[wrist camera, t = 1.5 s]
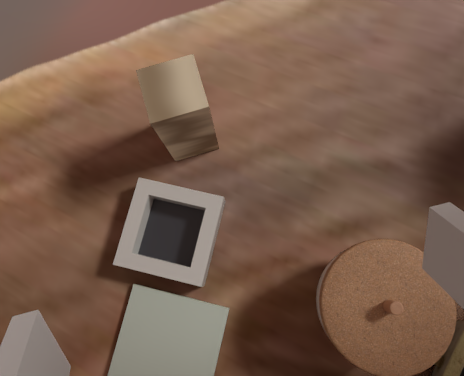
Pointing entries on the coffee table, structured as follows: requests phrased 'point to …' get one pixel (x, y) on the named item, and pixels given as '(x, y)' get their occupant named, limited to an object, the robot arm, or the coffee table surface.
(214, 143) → the maple block
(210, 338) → the felt pad
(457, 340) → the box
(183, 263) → the stone well
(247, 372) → the coffee table surface
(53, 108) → the coffee table surface
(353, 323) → the lidded jar
